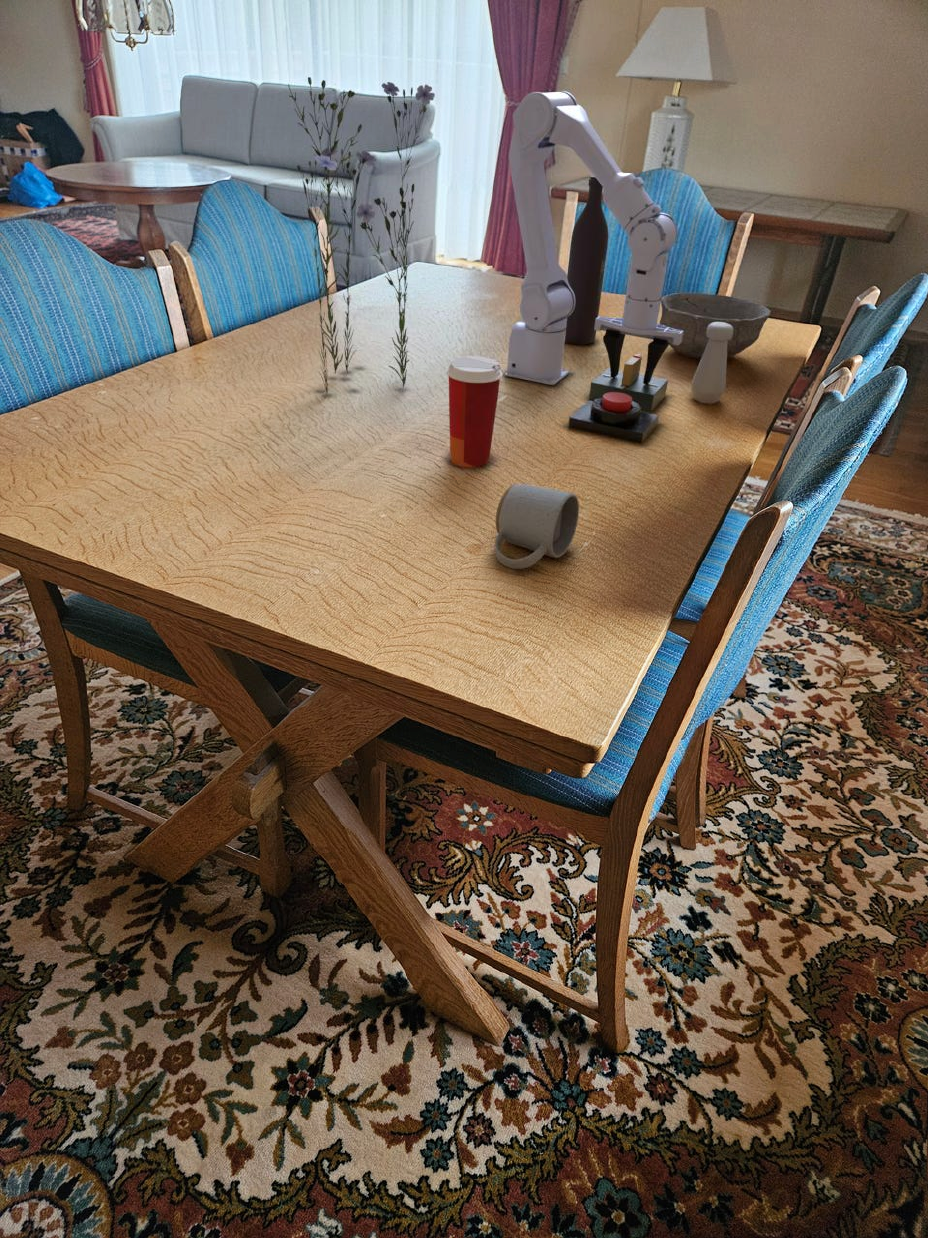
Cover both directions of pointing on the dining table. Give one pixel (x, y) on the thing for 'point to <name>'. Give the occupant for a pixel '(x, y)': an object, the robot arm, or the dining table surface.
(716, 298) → the bowl
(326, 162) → the wildflower
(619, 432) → the switch box
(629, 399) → the light button
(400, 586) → the dining table surface
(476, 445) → the paper cup
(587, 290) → the wine bottle
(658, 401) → the panel
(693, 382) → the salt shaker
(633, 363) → the dimmer knob
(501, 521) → the ceramic mug
